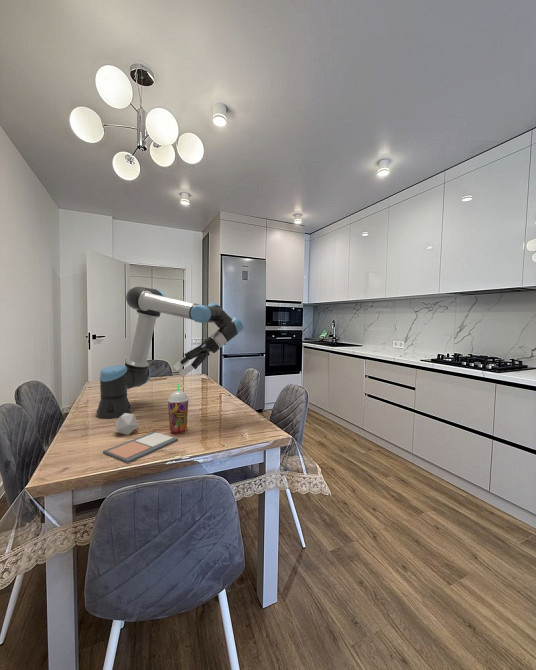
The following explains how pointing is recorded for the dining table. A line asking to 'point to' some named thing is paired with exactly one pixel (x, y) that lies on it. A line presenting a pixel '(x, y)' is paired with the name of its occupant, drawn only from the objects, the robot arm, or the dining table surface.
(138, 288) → the robot arm
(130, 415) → the die
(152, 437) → the game board
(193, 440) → the dining table surface
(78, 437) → the dining table surface
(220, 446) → the dining table surface
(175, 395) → the smoothie
